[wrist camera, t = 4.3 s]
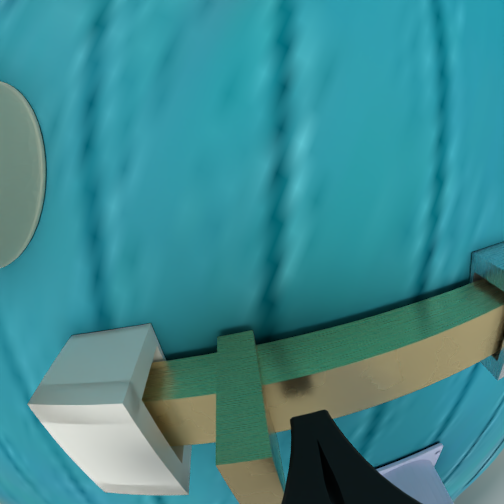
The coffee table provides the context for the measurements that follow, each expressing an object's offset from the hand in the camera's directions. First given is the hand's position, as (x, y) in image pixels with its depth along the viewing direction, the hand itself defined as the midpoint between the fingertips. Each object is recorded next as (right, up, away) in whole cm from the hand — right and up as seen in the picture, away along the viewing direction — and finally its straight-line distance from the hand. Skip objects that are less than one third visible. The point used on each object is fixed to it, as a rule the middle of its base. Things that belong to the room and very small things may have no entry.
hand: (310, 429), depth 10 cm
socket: (-8, 0, +4) cm, 9 cm away
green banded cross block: (+2, +2, +4) cm, 5 cm away
